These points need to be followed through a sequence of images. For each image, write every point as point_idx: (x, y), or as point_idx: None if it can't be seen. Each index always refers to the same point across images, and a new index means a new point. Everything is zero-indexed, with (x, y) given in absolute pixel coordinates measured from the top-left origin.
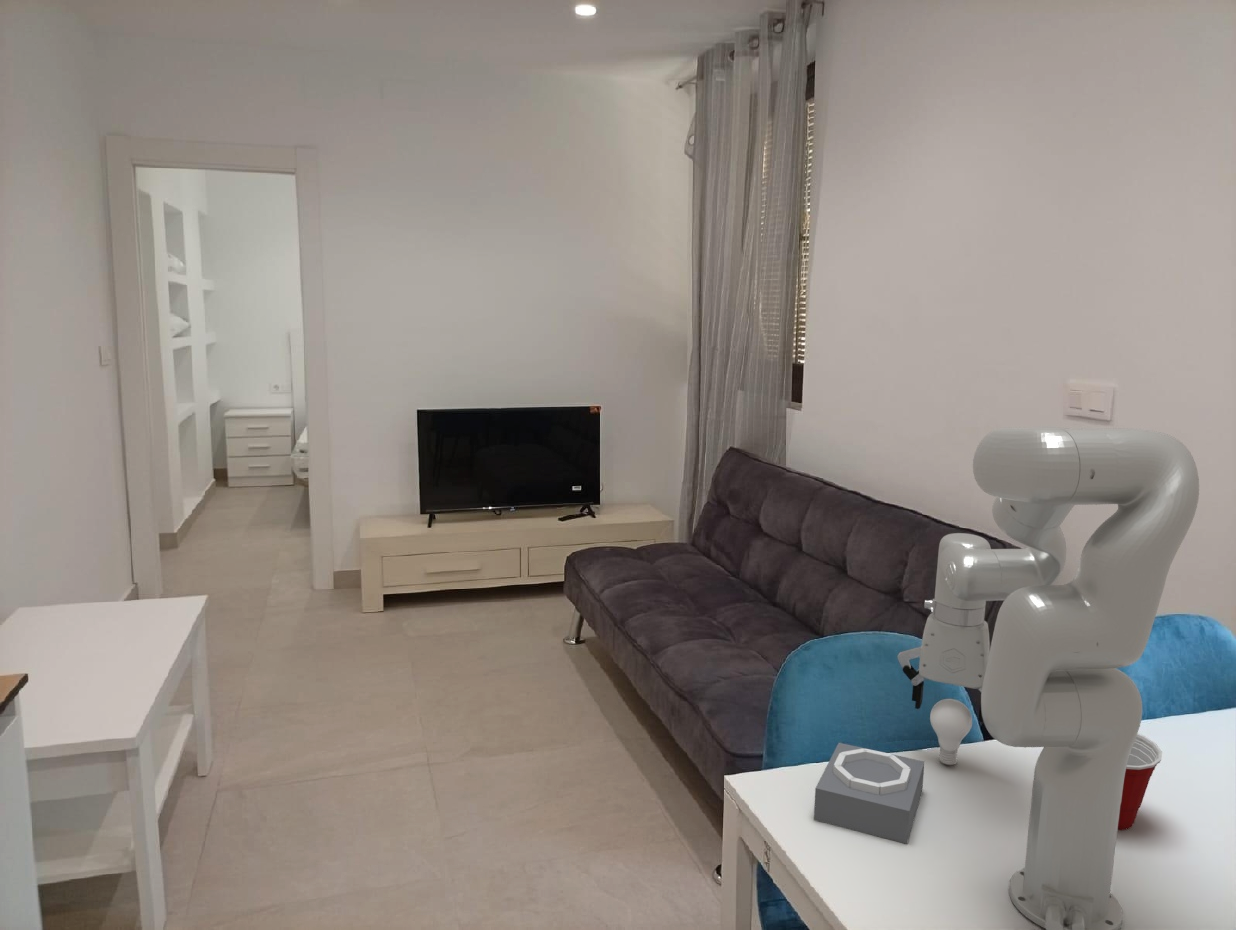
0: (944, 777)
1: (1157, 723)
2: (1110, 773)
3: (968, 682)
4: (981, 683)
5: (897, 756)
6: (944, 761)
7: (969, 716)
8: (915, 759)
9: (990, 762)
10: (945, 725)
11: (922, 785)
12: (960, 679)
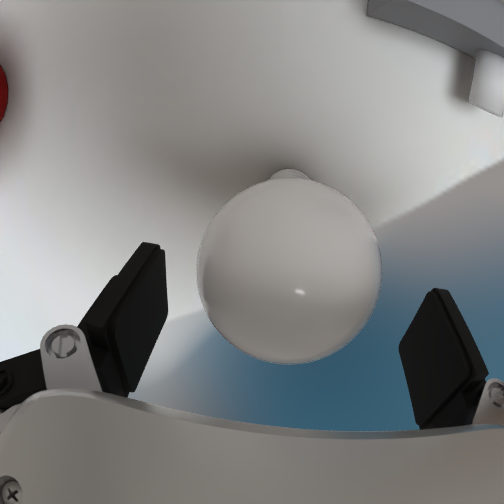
0: (301, 107)
1: None
2: None
3: (137, 452)
4: (23, 419)
5: (483, 28)
6: (300, 173)
7: (202, 264)
8: (429, 9)
9: (180, 228)
10: (325, 192)
11: (372, 6)
12: (225, 491)
